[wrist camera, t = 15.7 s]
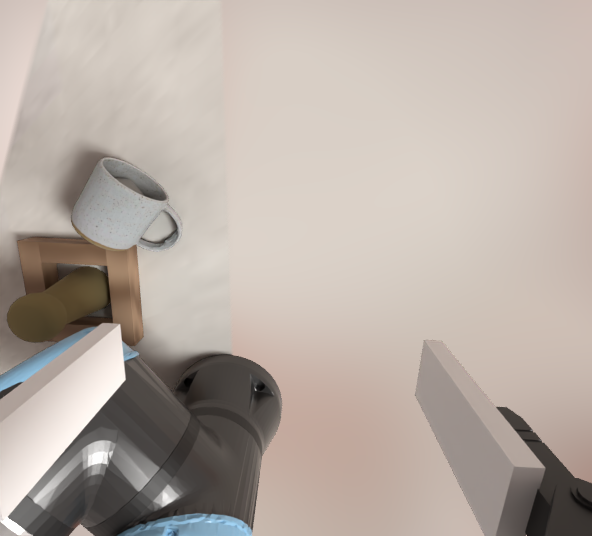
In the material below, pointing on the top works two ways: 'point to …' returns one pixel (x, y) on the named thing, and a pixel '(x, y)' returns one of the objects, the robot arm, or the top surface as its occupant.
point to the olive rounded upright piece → (59, 305)
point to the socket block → (121, 264)
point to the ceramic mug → (121, 207)
